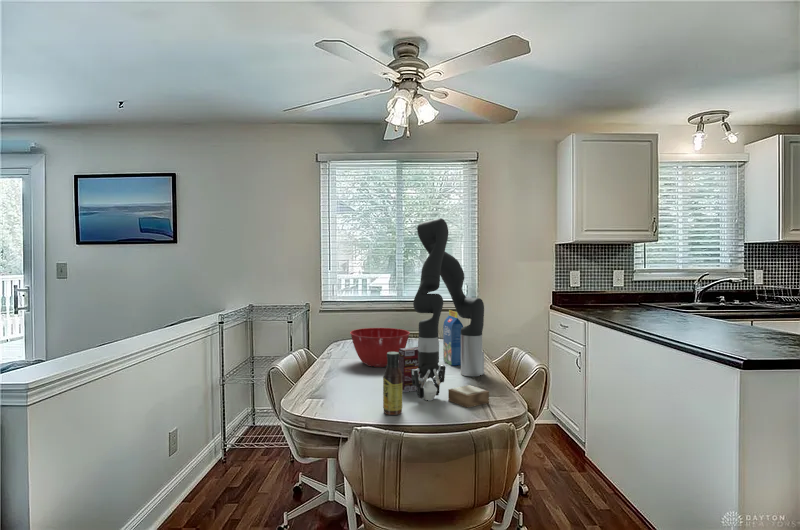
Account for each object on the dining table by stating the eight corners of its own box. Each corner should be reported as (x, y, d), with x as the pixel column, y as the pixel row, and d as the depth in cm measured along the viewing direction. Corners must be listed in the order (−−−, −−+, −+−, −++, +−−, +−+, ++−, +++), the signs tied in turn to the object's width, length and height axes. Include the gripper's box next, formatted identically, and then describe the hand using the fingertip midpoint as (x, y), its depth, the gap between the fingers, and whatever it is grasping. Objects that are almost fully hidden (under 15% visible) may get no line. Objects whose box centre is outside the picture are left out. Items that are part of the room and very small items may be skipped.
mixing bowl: (420, 362, 240) (420, 330, 239) (388, 373, 216) (388, 338, 215) (373, 355, 255) (373, 326, 255) (337, 366, 231) (337, 333, 231)
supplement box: (403, 392, 185) (403, 350, 185) (398, 389, 189) (397, 348, 189) (423, 390, 189) (423, 348, 189) (417, 387, 193) (417, 346, 193)
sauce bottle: (382, 410, 164) (382, 350, 164) (401, 409, 164) (401, 350, 164) (383, 416, 157) (383, 354, 157) (403, 416, 158) (403, 354, 158)
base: (469, 396, 180) (469, 384, 180) (489, 402, 172) (489, 390, 172) (448, 400, 175) (448, 388, 175) (467, 407, 167) (467, 394, 167)
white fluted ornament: (418, 397, 179) (418, 378, 179) (434, 396, 180) (434, 377, 180) (422, 402, 173) (422, 382, 173) (439, 401, 174) (439, 381, 174)
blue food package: (451, 366, 230) (451, 312, 230) (443, 360, 242) (442, 310, 242) (463, 365, 232) (463, 312, 231) (455, 360, 243) (455, 309, 243)
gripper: (438, 345, 183) (438, 391, 183) (405, 349, 175) (405, 397, 176) (450, 349, 177) (450, 395, 177) (418, 353, 169) (418, 402, 169)
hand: (428, 396), depth 176 cm, fingers closed on white fluted ornament, 6 cm apart
